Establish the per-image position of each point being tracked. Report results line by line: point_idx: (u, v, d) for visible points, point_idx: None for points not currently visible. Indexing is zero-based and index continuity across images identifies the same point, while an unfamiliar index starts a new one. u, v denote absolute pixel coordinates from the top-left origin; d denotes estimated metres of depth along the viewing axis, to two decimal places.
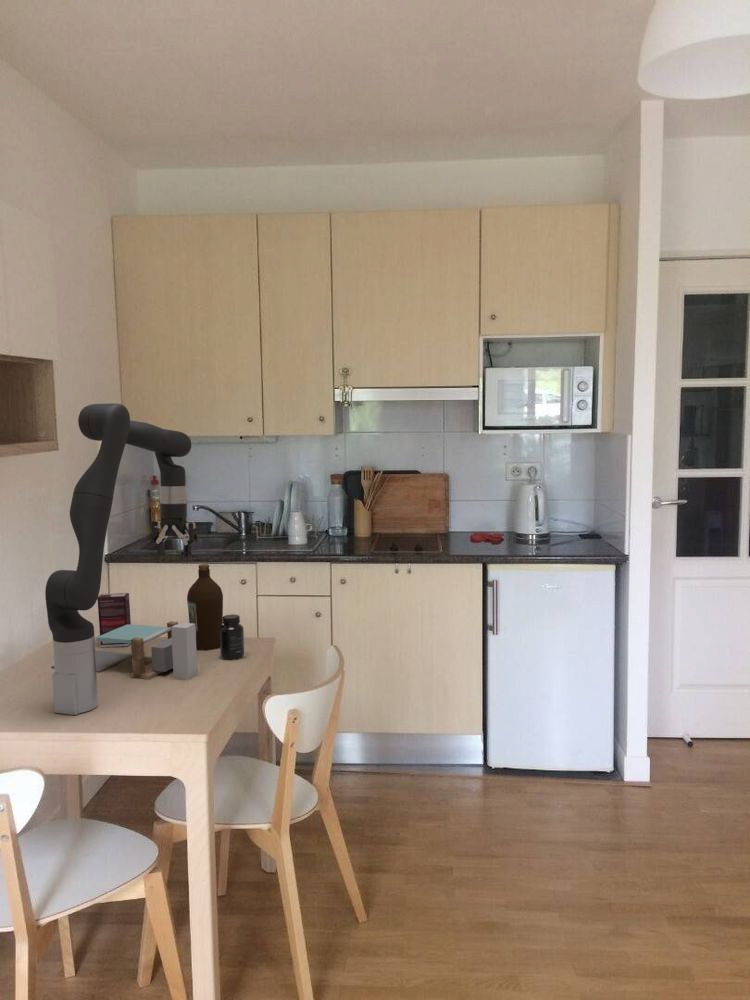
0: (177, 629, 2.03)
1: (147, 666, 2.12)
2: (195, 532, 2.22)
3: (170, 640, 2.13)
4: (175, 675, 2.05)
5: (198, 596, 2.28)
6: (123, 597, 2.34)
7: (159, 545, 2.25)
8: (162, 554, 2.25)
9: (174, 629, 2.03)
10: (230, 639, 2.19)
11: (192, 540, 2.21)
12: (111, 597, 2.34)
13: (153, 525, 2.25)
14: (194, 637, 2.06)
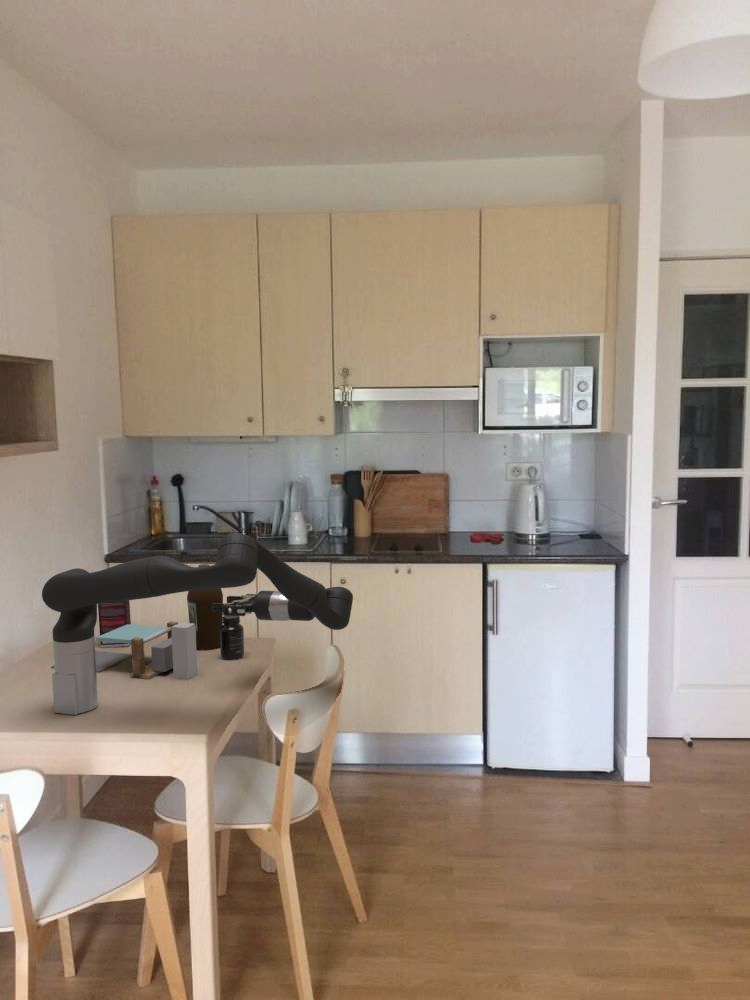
0: (177, 629, 2.03)
1: (147, 666, 2.12)
2: (233, 612, 1.93)
3: (170, 640, 2.13)
4: (175, 675, 2.05)
5: (198, 596, 2.28)
6: None
7: (238, 596, 2.05)
8: (228, 599, 2.05)
9: (174, 629, 2.03)
10: (230, 639, 2.19)
11: (225, 606, 1.93)
12: None
13: None
14: (194, 637, 2.06)
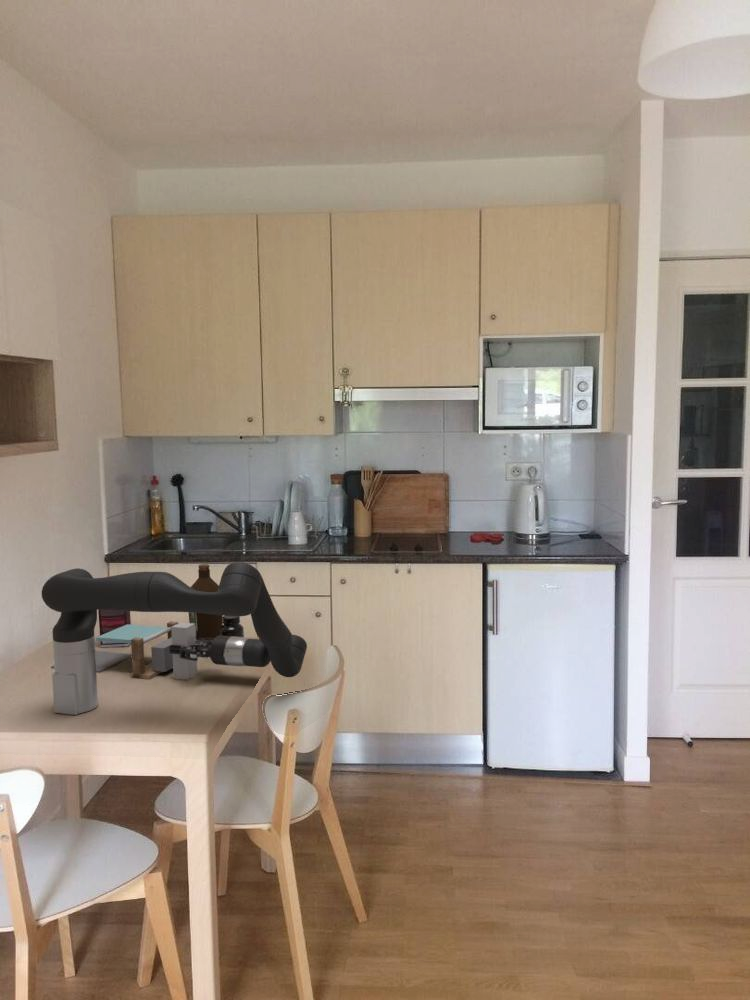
0: (177, 629, 2.03)
1: (147, 666, 2.12)
2: (186, 656, 1.99)
3: (170, 640, 2.13)
4: (175, 675, 2.05)
5: None
6: None
7: None
8: None
9: (174, 629, 2.03)
10: None
11: (181, 649, 2.00)
12: None
13: None
14: (194, 637, 2.06)
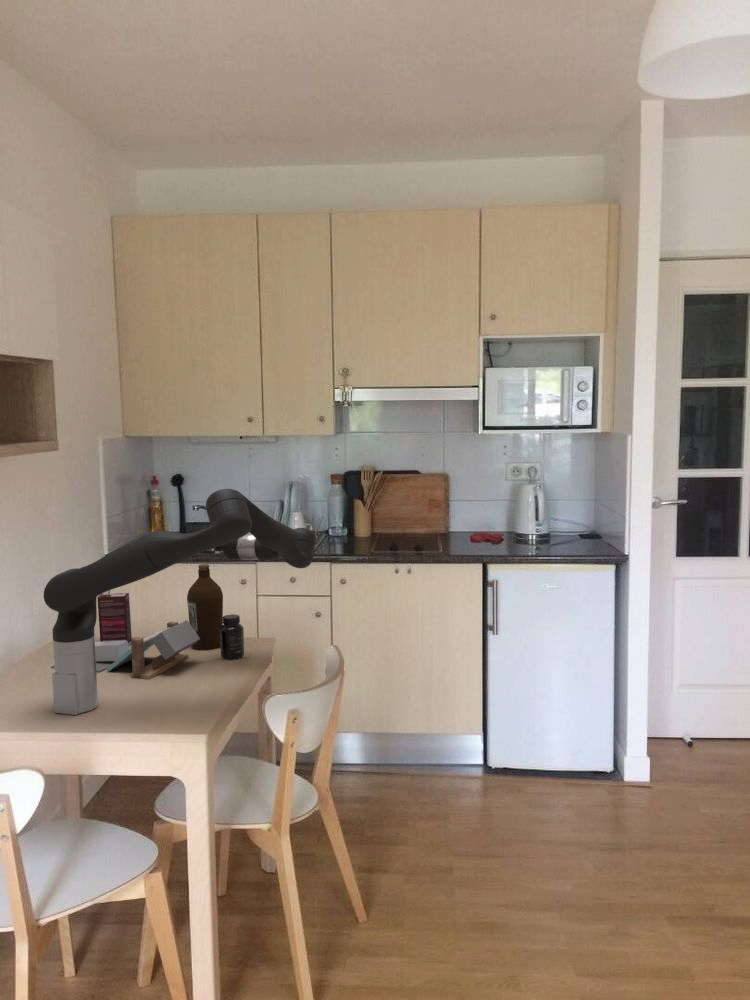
0: None
1: (147, 666, 2.12)
2: None
3: None
4: (117, 658, 2.16)
5: (198, 596, 2.28)
6: (123, 597, 2.34)
7: None
8: None
9: None
10: (230, 639, 2.19)
11: None
12: (111, 597, 2.34)
13: None
14: None
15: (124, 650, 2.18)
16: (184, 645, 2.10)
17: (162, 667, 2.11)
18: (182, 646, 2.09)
